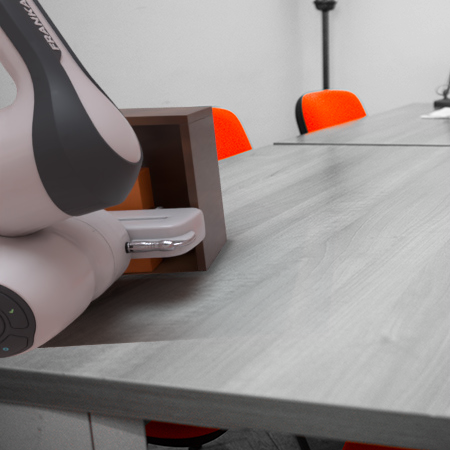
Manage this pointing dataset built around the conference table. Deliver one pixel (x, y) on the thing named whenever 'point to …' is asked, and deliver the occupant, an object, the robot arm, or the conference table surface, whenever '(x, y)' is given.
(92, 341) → the conference table surface
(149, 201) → the block
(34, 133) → the robot arm
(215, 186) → the cubby
